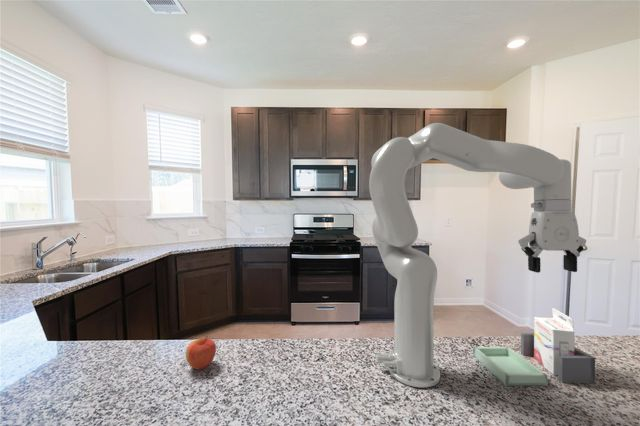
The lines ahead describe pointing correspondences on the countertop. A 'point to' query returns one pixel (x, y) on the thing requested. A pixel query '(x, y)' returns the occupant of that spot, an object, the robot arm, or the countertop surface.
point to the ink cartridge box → (553, 340)
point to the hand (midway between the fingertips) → (552, 271)
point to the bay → (566, 363)
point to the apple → (200, 353)
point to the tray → (510, 366)
